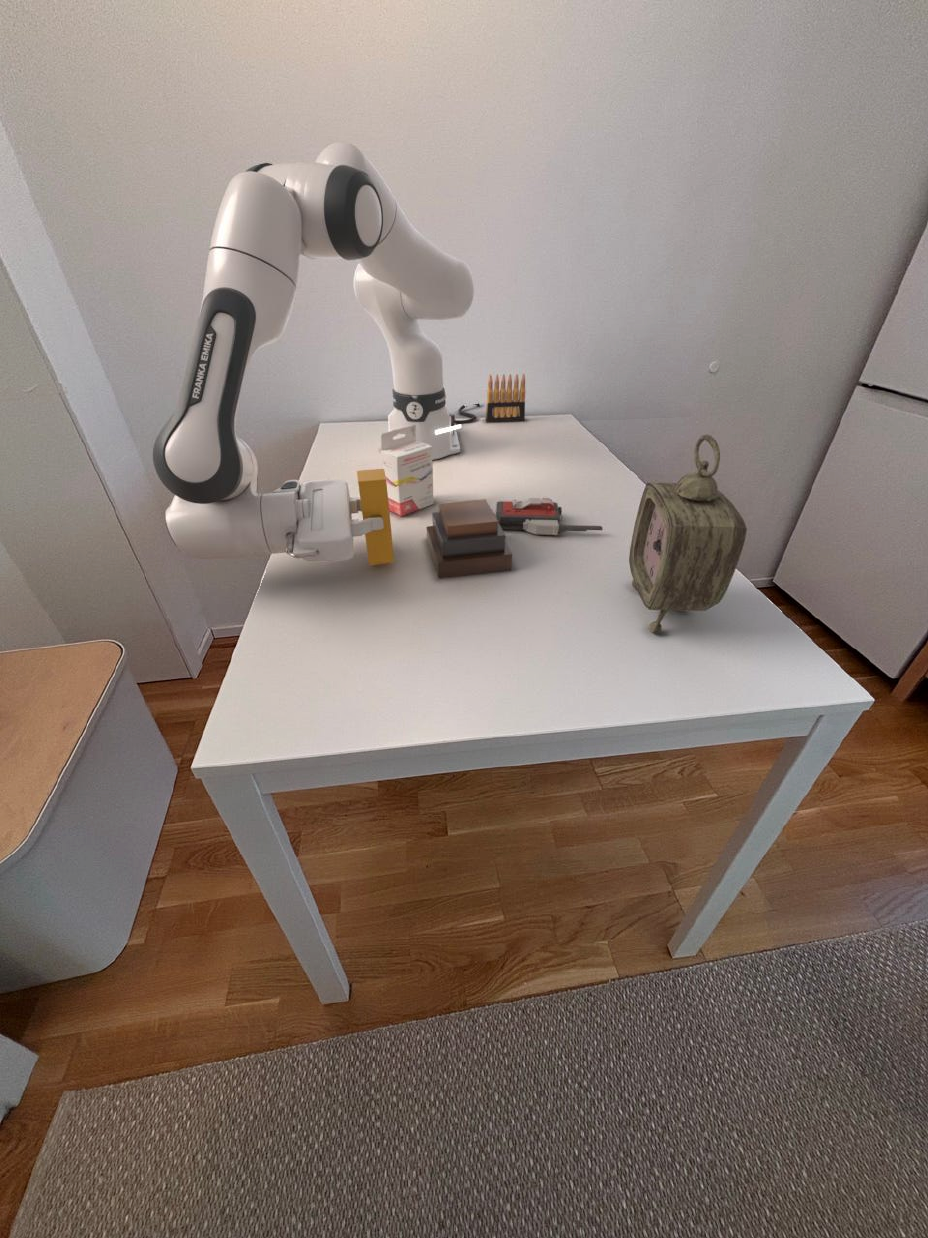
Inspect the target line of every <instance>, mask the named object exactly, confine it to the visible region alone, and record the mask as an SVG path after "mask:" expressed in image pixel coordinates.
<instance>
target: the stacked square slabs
mask: <svg viewBox="0 0 928 1238" xmlns="http://www.w3.org/2000/svg"><path fill="white" fill-rule="evenodd" d="M431 514H432V515H431V517H432V518H431V519H432V525H427V526H426V528H425V531H426V542H427V546H428V549H429V552H430V557H431V559H432V562H433V566H434V570H435V573H436V576H437V579H448V578H456V577H465V576H475V575H483V574H491V573H499V572H508V571H512V565H513V553H512V551H511V549H510V548H509V546H508V544H507V542H506V534H505V532H504V529H502V528H501V526H500V525H499V523H498V520H497V518H496V514H495V513H494V511H493V509H492V508H491V506H490V503H489V502H488V500H487V499H486V498H484V499H475V500H474V499H473V500H464V501H463V500H462V501H451V502H444V503H438V511H437V512H436V511H435V512H432V513H431Z"/></svg>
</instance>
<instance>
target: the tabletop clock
mask: <svg viewBox="0 0 928 1238" xmlns="http://www.w3.org/2000/svg"><path fill="white" fill-rule="evenodd" d="M704 441H706V442H707V443H708V444H709V445H710V446H711V448H712V451H713V456H714V464H713V465H714V466H713V469H712V471H709V470H708V469H709V464H710V463H709V461H707V460H701V458H700V455H699V451H700V446H701V444H702V443H703V442H704ZM693 460H694V465H695V467H696V469H697V471H696V472H690V473H688V474H685V475H684V476H682V477H681V478H680V479H679V480H678V481H677V482H647V483H646V484H645V486H644V489H643V493H642V495H641V498H640V503H639V506H638V509H637V513H636V518H635V521H634V527H633V532H632V536H631V543H630V548H629V556H628V558H629V559H628V562H629V569H630V573H631V577H632V580H631V586H632V587H633V588H634V589H636V591H637V593H638V595H639V597H640V599H641V601H642V603H643V605H644V607H645V608H646V609H648V610H650V611H659V612H658V615H657V618H656V621H652V622H650V624H649V627H648V629H649V631H650V632H651V633H652V634H658V633H660V632H661V631H662V628H663V627H662V624H661V622H662V621H663V620H664V618H665V616H666V614H667V613H668V612H669V611H677V612H678V611H687V612H688V611H690V612H691V611H693V612H694V611H695V612H706V611H708V610H709V609H711V608H713V607H715V606H716V605H718V604H720V603H721V601H722V600H723V599H724V597H725V595H726V593H727V591H728V588H729V586H730V583H731V582H732V579H733V576H734V574H735V573H736V569H737V566H738V564H739V560H740V557H741V554H742V551H743V548H744V545H745V541H746V536H747V530H748V529H747V526H746V521H745V519H744V517H743V516H742V515H741V513H740V512H739V511H738V509H737V508H736V506H735V505H734V504H733V502H732V501H731V500H730V499H729V498H728V497H727V496H725V494H724V493H723V492H721V491H720V490H719V489H718V488H719V487H718V484H717V483H718V482H717V481H716V480H715V478H714V476H715V475H716V473H717V472H718V469H719V465H720V462H721V450H720V447H719V443H718V442H717V440H716V439H715V438H714V437H713V436H712V435H710V434H703V435H701V436H700V437H699V438H698V440H697V441H696V444H695V446H694V459H693Z"/></svg>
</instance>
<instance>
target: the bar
mask: <svg viewBox="0 0 928 1238" xmlns="http://www.w3.org/2000/svg"><path fill="white" fill-rule="evenodd" d="M356 475H357V485H358V492H359V498H360V500H361V507H362V511H361V514H362V515H361V516H362V520H364V519H367V518H370V515H382V518H383V525H384V528H383V529H381V530H372V531H371V532H369V533H366V534H364V537H365V544H366V552H367V559H368V565H369V566H372V565H381V564H389V563H395V554H394V544H393V543H394V542H393V533H392V524H391V514H390V511H389V503H388V493H387V483H386V476H385V472H384V469H383V468H376V469H364V470H357V471H356Z"/></svg>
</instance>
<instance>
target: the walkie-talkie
mask: <svg viewBox="0 0 928 1238" xmlns="http://www.w3.org/2000/svg"><path fill="white" fill-rule="evenodd" d="M558 504H559V503H558V502H554V501H553V500H552V499H551V498H548V497H547V498H546V497H545V498H544V497H543V498H539V497H529V498H527V499H526V500H525V499H524V501H517V499H515V498H514V499H512V501H510V500H507V501H505V500H501V501H496V509H495V511H496V512H495V517H496V518H497V520H498V523H499V525H500V526H501V528H502V530H509V531H510V530H512V531H513V530H514V531H525V532H527V533H530V534H533V535H548V536H549V535H551V536H558V535H559V532H560V533H561V532H562V533H564V532H587V531H603V530H604V528H603V526H602V525H577V524H576V525H575V524H574V525H573V524H565V523H562V522H560V521H561V520H563V515H562V514H563V508H562V507H561V506H559V505H558Z"/></svg>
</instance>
